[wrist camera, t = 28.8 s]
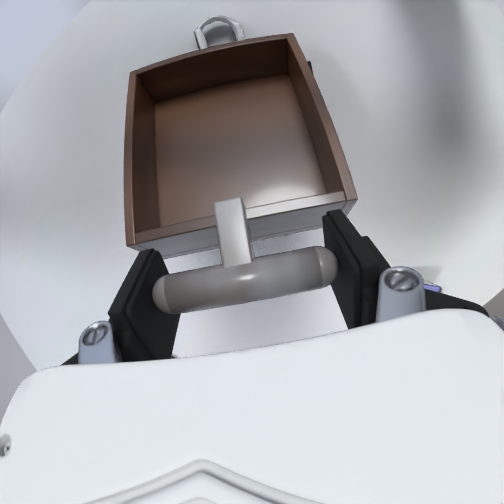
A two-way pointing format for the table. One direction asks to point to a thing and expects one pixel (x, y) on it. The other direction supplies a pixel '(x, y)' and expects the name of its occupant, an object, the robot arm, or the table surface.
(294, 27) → the table surface
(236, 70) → the open drawer
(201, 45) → the smartwatch
